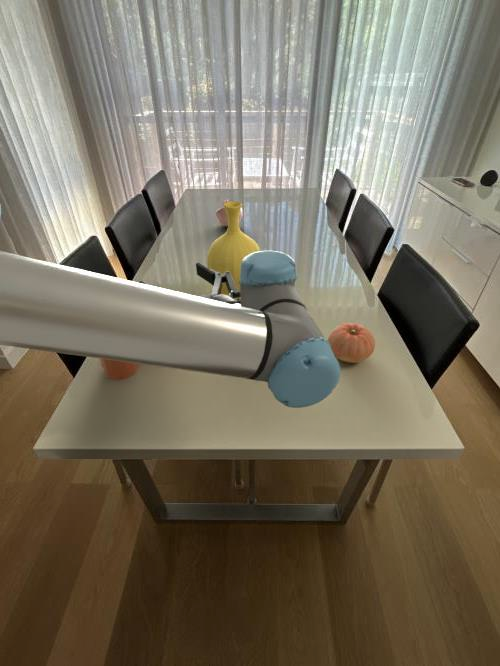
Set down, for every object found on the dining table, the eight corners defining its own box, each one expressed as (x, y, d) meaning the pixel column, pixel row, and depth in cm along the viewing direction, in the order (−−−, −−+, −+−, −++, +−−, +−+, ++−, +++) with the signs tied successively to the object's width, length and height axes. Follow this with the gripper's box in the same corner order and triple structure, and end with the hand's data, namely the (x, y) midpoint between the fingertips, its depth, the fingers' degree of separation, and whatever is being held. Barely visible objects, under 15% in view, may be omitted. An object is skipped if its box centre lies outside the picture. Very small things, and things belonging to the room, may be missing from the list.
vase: (231, 279, 114) (227, 192, 97) (271, 293, 106) (275, 201, 89) (199, 300, 103) (188, 206, 86) (241, 317, 96) (239, 218, 79)
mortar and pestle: (234, 220, 161) (233, 194, 154) (247, 227, 153) (247, 201, 146) (211, 224, 156) (210, 199, 149) (224, 232, 147) (223, 206, 141)
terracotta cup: (102, 382, 76) (90, 351, 70) (106, 360, 82) (96, 330, 76) (137, 377, 77) (128, 346, 72) (139, 355, 83) (131, 326, 78)
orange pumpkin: (380, 356, 82) (387, 329, 78) (353, 377, 77) (360, 350, 72) (343, 335, 89) (348, 310, 84) (316, 353, 83) (320, 327, 78)
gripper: (168, 367, 56) (118, 312, 69) (279, 314, 68) (219, 276, 82) (161, 331, 51) (109, 279, 64) (281, 281, 64) (217, 246, 77)
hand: (170, 277), depth 73 cm, fingers open, 13 cm apart
